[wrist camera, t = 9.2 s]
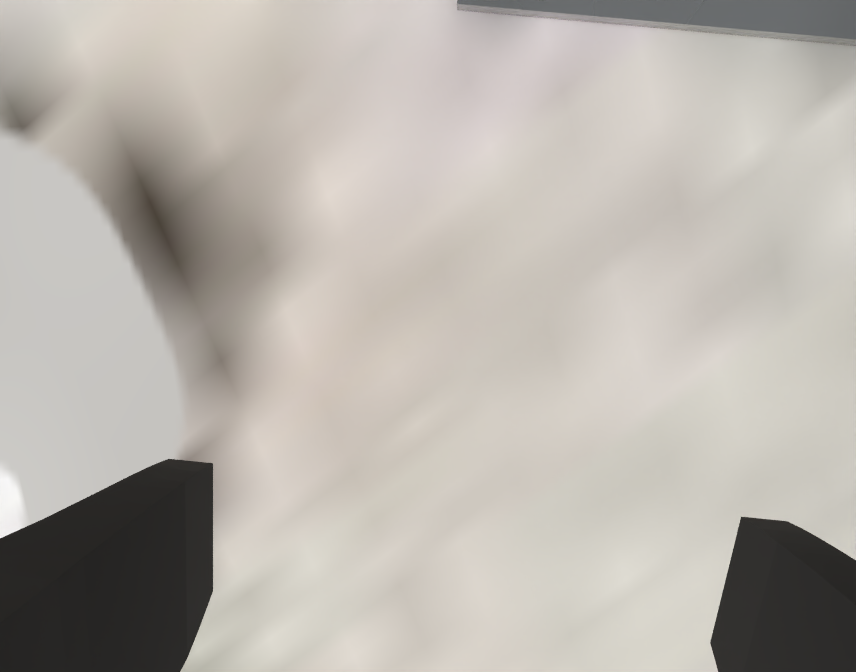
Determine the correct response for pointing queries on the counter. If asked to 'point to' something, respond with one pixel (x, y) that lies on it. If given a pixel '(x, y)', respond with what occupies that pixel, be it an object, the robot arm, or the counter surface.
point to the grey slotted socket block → (699, 15)
